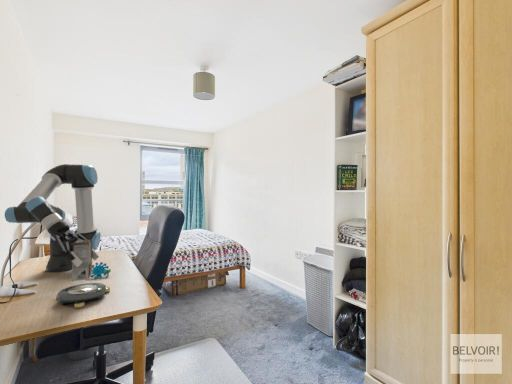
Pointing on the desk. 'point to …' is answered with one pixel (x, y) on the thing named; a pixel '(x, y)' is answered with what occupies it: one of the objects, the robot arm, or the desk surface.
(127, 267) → the desk surface
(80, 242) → the coffee box
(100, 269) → the gear
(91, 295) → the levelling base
